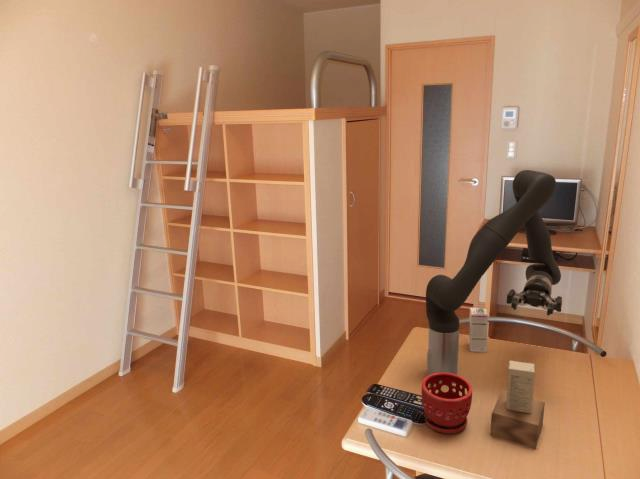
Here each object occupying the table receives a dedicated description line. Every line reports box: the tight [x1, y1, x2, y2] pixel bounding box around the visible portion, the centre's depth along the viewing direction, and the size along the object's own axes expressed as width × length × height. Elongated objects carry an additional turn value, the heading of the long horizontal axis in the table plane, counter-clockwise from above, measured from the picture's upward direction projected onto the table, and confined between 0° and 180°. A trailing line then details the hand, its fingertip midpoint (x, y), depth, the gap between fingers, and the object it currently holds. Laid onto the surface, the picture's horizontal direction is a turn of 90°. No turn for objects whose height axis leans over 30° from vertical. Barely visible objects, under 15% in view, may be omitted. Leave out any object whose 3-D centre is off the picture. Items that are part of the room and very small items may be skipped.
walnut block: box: [490, 391, 546, 449], centre depth 127 cm, size 11×11×7 cm
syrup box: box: [468, 307, 489, 353], centre depth 169 cm, size 6×6×14 cm
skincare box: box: [506, 360, 536, 413], centre depth 124 cm, size 6×4×12 cm
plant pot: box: [421, 372, 473, 434], centre depth 130 cm, size 13×13×12 cm
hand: (531, 309), depth 132 cm, fingers open, 8 cm apart
